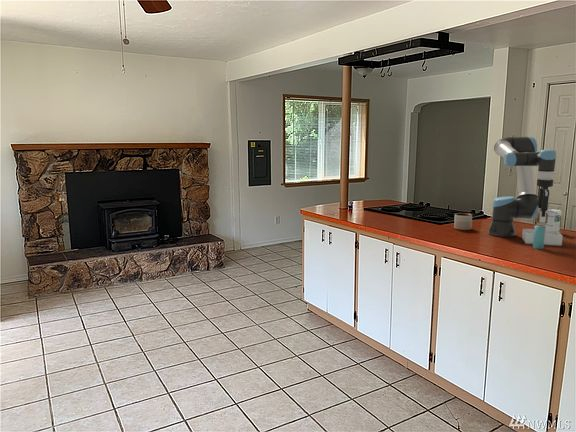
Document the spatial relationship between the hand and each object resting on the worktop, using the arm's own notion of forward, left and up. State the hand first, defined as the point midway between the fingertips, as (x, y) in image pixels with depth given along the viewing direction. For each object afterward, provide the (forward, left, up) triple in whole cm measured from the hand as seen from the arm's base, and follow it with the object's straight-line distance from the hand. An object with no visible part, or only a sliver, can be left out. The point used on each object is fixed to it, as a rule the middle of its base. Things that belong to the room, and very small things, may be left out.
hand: (541, 221), depth 236 cm
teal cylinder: (-1, -5, -14) cm, 15 cm away
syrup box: (+14, +38, -14) cm, 43 cm away
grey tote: (+3, +10, -14) cm, 17 cm away
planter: (-38, +37, -14) cm, 55 cm away
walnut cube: (0, 0, 0) cm, 0 cm away
